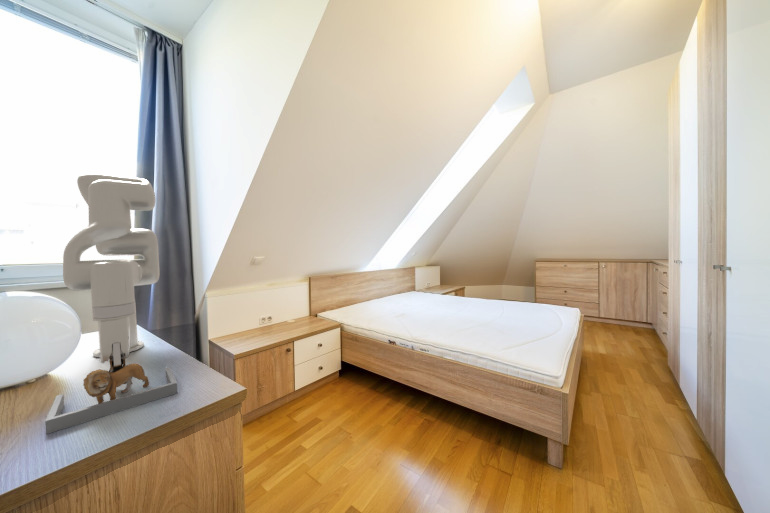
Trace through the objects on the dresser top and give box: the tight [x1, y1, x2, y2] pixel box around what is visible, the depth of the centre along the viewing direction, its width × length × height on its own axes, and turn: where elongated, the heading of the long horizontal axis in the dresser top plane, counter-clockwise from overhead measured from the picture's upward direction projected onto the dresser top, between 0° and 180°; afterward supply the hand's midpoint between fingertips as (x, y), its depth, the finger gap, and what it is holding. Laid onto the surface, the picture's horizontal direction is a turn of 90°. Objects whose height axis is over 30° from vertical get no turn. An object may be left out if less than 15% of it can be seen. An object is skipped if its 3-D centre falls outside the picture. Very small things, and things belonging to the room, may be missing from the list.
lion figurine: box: [83, 363, 150, 404], centre depth 64 cm, size 15×5×9 cm, turn 6°
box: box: [44, 366, 178, 435], centre depth 63 cm, size 13×20×2 cm, turn 134°
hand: (119, 384), depth 68 cm, fingers closed
